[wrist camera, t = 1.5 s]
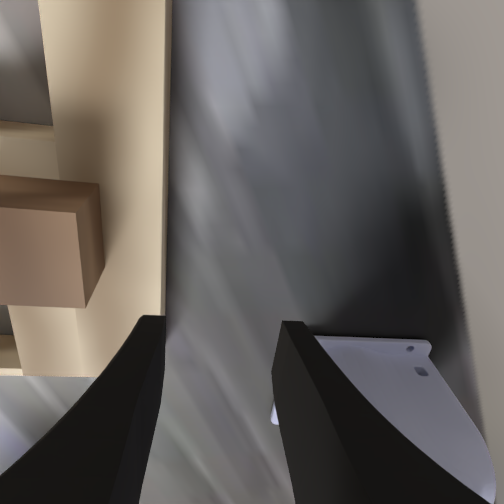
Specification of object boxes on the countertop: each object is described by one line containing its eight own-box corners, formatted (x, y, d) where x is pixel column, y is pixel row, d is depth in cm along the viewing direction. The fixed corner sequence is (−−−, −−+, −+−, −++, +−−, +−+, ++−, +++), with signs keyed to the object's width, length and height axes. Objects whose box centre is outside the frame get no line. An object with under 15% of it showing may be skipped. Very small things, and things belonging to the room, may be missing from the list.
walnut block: (99, 183, 15) (75, 213, 13) (104, 267, 17) (85, 308, 14) (-9, 173, 15) (-57, 202, 12) (9, 262, 17) (-29, 303, 14)
